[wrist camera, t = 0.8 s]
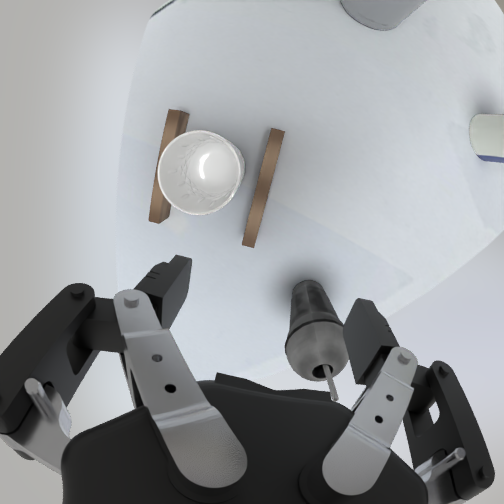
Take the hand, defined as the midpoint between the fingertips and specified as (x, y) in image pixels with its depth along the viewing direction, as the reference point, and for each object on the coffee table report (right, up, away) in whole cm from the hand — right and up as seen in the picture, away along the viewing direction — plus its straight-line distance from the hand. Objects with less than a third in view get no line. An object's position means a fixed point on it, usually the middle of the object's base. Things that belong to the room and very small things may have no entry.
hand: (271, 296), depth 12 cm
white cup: (-5, +13, +20) cm, 25 cm away
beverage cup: (+7, -4, +26) cm, 27 cm away
